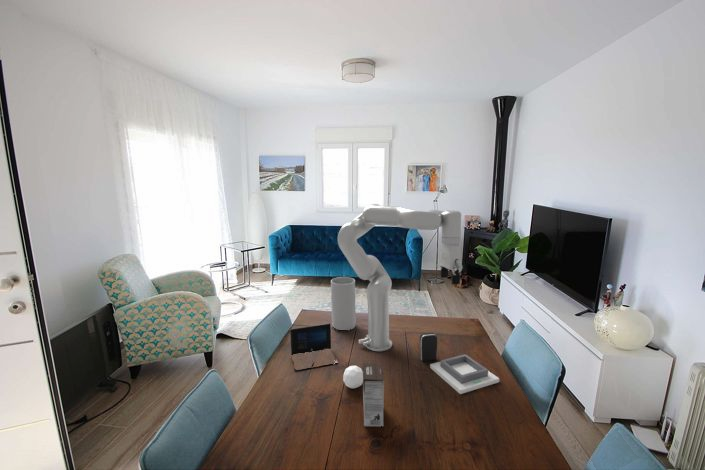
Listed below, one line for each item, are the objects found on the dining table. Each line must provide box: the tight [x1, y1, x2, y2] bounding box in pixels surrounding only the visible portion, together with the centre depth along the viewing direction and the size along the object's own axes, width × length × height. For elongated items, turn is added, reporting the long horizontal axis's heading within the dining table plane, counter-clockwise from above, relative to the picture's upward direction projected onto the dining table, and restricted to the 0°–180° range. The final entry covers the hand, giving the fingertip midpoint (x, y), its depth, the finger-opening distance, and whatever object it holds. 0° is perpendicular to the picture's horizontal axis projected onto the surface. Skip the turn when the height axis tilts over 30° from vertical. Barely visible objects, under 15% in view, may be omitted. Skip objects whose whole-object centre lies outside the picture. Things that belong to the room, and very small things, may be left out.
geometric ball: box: [342, 365, 363, 389], centre depth 118 cm, size 8×8×8 cm
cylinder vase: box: [330, 276, 357, 331], centre depth 167 cm, size 12×12×25 cm
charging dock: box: [429, 353, 500, 395], centre depth 124 cm, size 18×18×4 cm
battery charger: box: [419, 332, 438, 362], centre depth 136 cm, size 7×4×11 cm, turn 99°
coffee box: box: [362, 362, 385, 427], centre depth 102 cm, size 9×6×16 cm
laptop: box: [289, 323, 339, 365], centre depth 136 cm, size 18×12×13 cm
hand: (449, 280), depth 135 cm, fingers open, 9 cm apart
